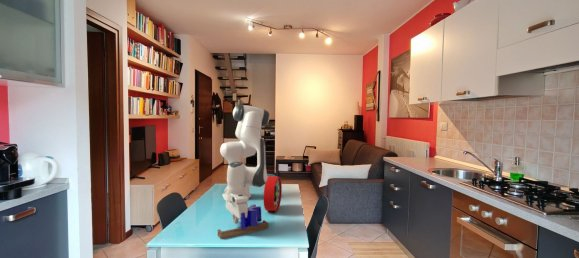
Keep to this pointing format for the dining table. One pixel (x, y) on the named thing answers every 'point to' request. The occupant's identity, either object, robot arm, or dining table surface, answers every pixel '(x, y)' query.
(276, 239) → the dining table surface
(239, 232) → the handle
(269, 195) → the red hockey puck
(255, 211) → the mounting bracket
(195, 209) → the dining table surface
